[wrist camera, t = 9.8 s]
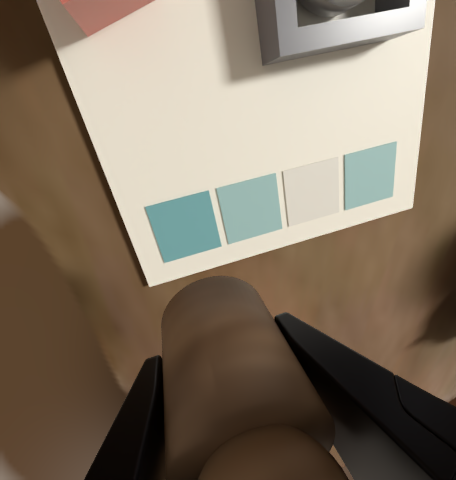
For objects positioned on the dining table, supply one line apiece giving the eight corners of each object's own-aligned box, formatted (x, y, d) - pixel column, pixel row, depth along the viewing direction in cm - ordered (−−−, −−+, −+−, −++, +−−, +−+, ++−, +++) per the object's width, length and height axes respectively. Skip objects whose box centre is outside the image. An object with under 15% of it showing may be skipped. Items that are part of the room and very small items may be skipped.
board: (442, -147, 14) (454, -157, 13) (407, 206, 22) (413, 208, 21) (-2, -102, 11) (-10, -113, 10) (149, 283, 19) (149, 287, 19)
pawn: (259, 264, 9) (481, 573, 3) (266, 344, 11) (422, 656, 4) (149, 291, 8) (132, 749, 2) (174, 371, 10) (204, 776, 4)
